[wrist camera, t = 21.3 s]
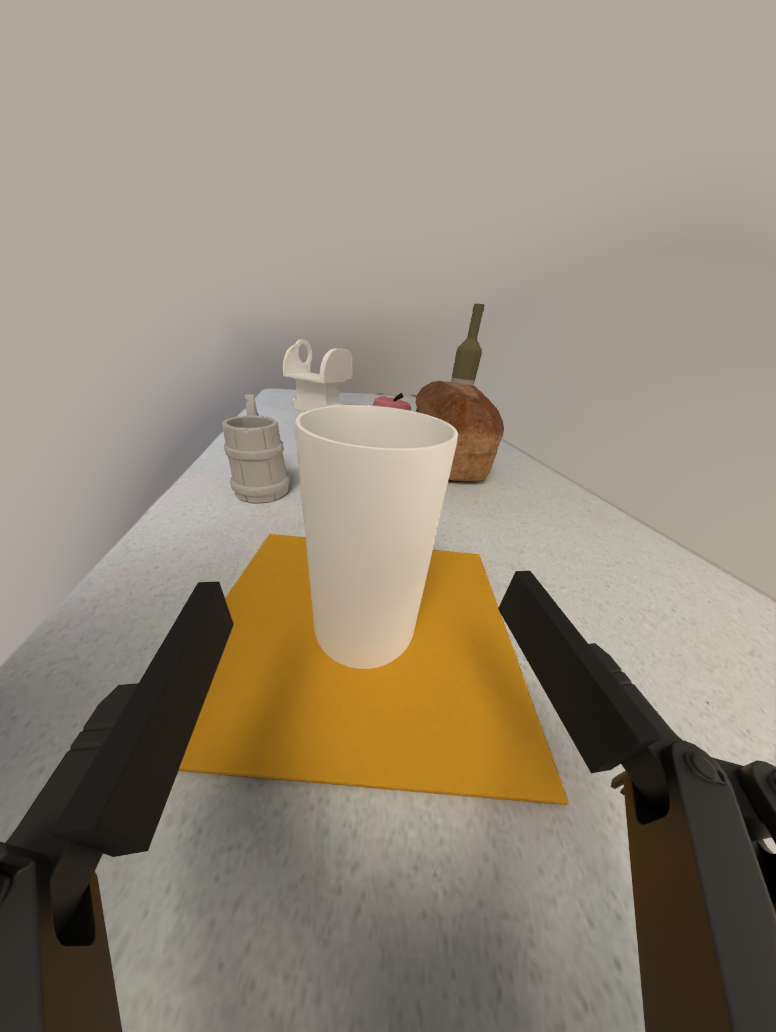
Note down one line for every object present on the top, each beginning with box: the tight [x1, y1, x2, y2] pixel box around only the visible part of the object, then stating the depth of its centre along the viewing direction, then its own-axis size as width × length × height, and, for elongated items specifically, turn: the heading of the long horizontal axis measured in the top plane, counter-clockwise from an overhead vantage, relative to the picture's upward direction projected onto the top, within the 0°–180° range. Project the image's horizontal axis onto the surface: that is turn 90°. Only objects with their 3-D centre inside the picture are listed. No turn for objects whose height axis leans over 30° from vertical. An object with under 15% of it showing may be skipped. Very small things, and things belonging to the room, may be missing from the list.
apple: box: [373, 393, 411, 411], centre depth 66 cm, size 10×9×10 cm
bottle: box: [451, 304, 484, 385], centre depth 80 cm, size 7×7×30 cm
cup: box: [295, 405, 458, 669], centre depth 18 cm, size 8×8×16 cm
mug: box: [222, 394, 290, 503], centre depth 38 cm, size 8×12×12 cm, turn 21°
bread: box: [416, 381, 504, 481], centre depth 54 cm, size 12×28×14 cm, turn 4°
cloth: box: [178, 534, 568, 805], centre depth 23 cm, size 24×20×1 cm
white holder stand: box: [283, 340, 352, 412], centre depth 78 cm, size 14×13×18 cm
